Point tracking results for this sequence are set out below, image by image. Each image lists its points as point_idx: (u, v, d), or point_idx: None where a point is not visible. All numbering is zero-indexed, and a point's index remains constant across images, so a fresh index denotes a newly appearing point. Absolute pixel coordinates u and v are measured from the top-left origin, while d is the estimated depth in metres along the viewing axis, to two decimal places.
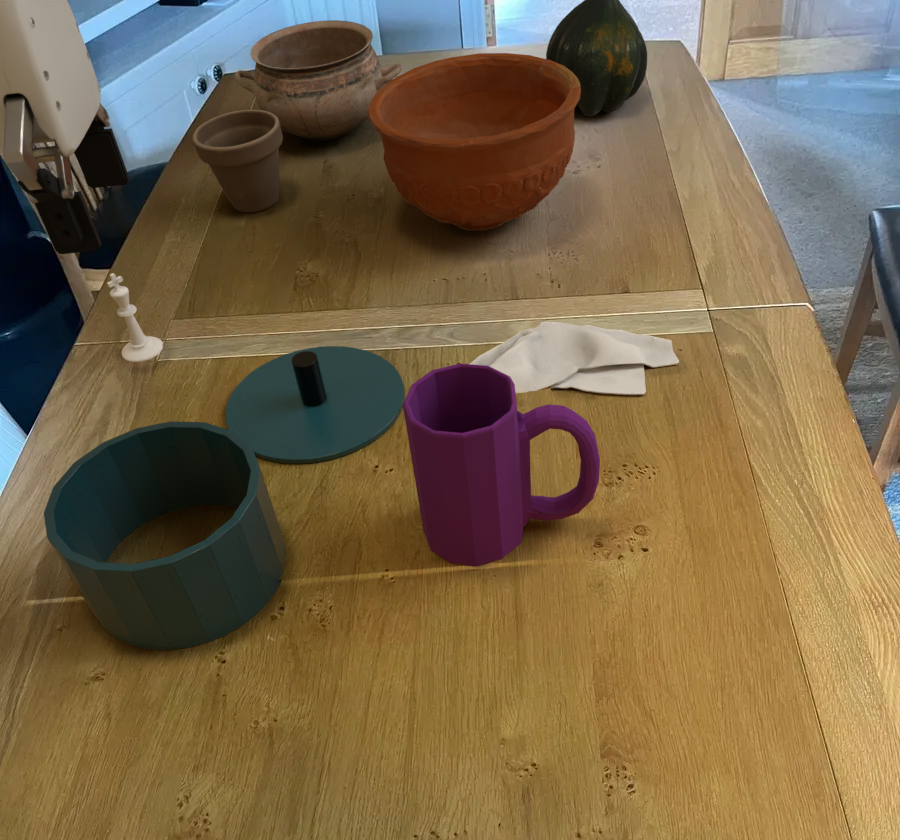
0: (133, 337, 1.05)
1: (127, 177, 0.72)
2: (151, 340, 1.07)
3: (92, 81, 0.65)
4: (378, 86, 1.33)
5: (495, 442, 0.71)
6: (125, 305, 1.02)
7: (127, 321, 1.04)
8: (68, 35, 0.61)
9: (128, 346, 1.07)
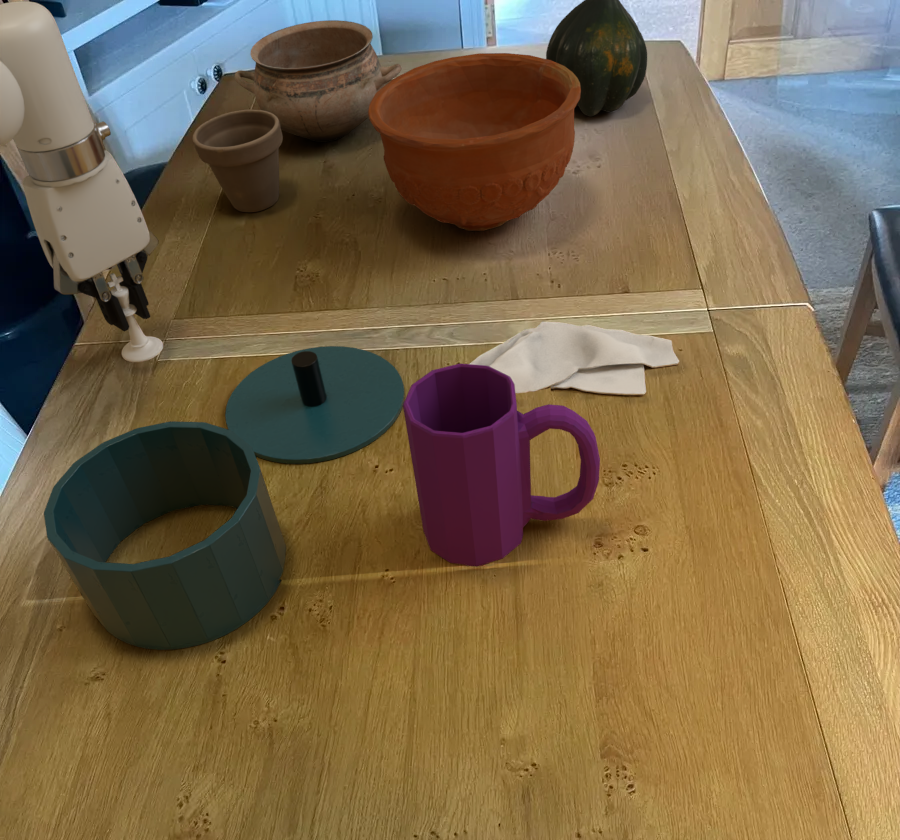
0: (133, 337, 1.05)
1: (146, 316, 1.03)
2: (151, 340, 1.07)
3: (135, 236, 0.97)
4: (378, 86, 1.33)
5: (495, 442, 0.71)
6: (125, 305, 1.02)
7: (127, 321, 1.04)
8: (108, 212, 0.94)
9: (128, 346, 1.07)
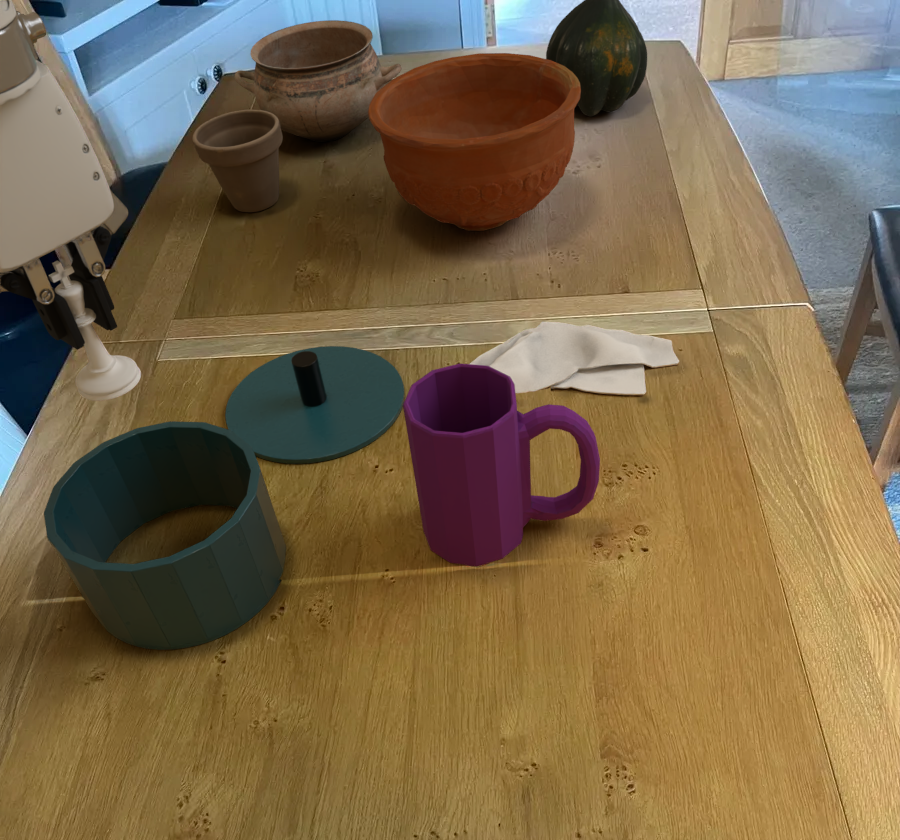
0: (92, 358, 0.70)
1: (111, 325, 0.68)
2: (120, 361, 0.72)
3: (91, 201, 0.62)
4: (378, 86, 1.33)
5: (495, 442, 0.71)
6: (79, 310, 0.67)
7: (82, 334, 0.69)
8: (44, 161, 0.59)
9: (85, 371, 0.72)
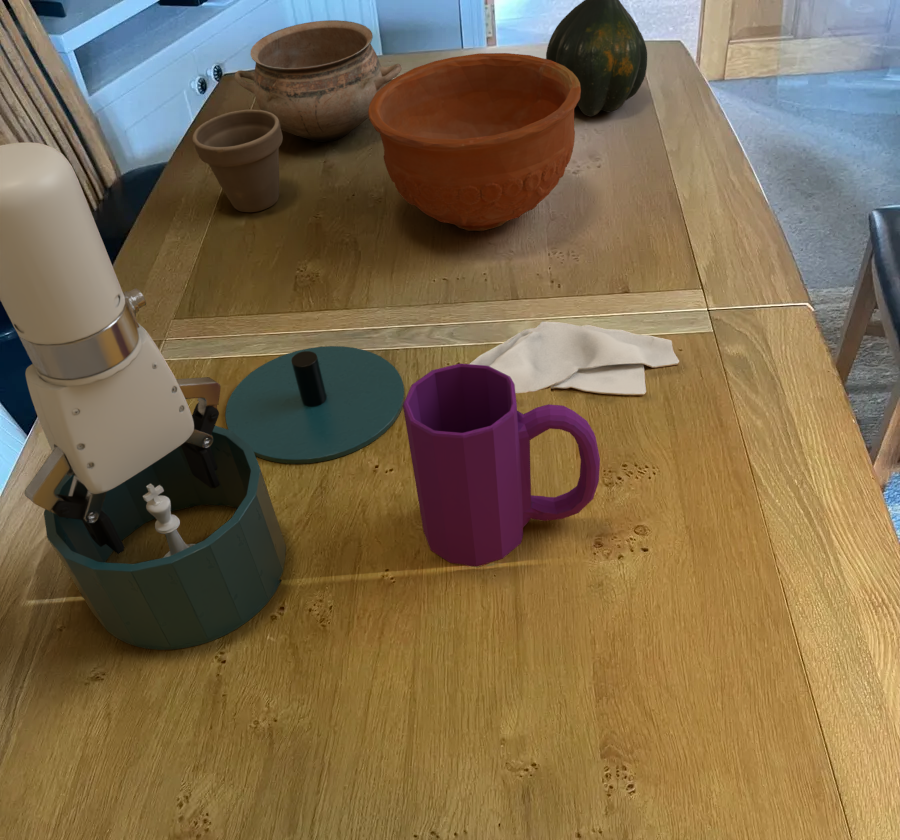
0: (174, 553, 0.81)
1: (215, 485, 0.79)
2: None
3: (176, 428, 0.73)
4: (378, 86, 1.33)
5: (495, 442, 0.71)
6: (166, 520, 0.78)
7: (167, 536, 0.80)
8: (141, 406, 0.69)
9: None
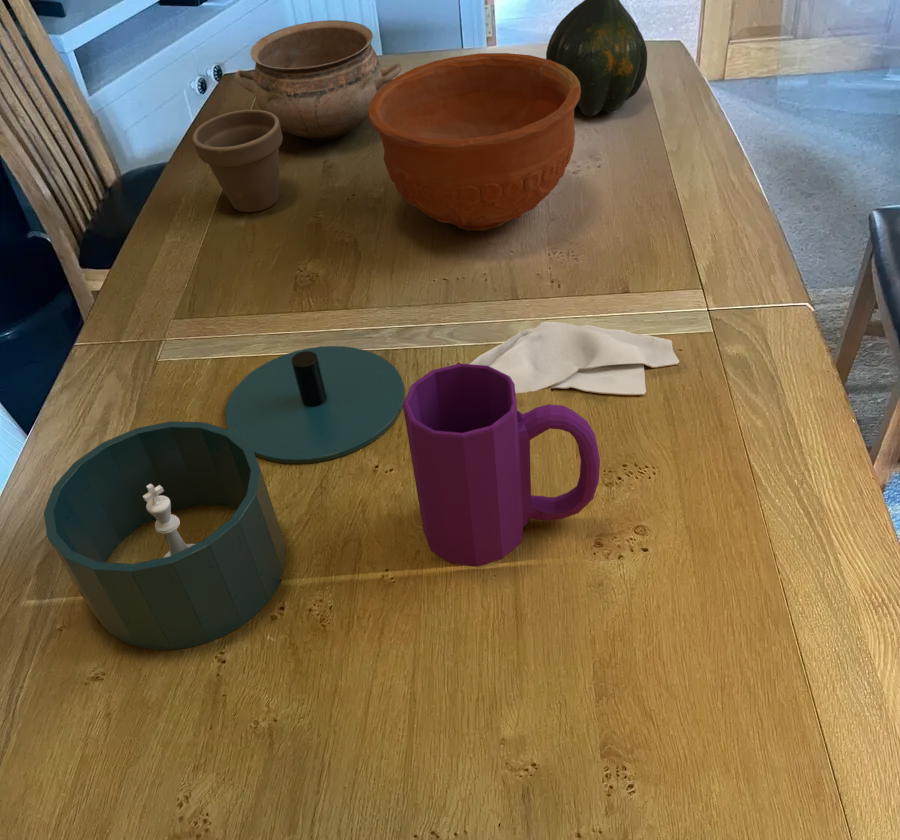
0: (174, 553, 0.81)
1: None
2: None
3: None
4: (378, 86, 1.33)
5: (495, 442, 0.71)
6: (166, 520, 0.78)
7: (167, 536, 0.80)
8: None
9: None
